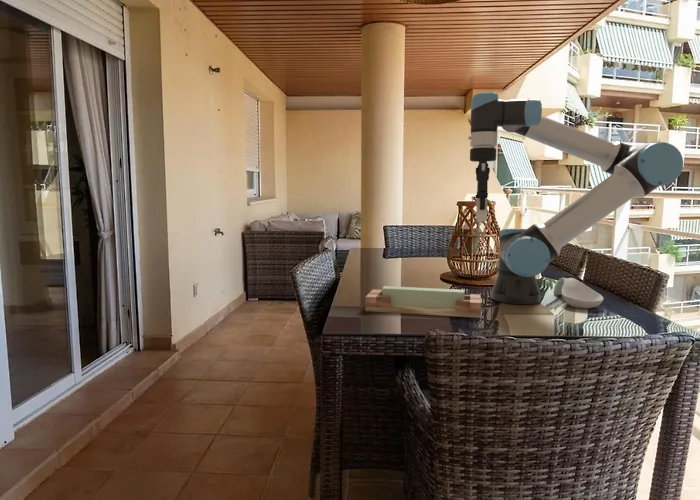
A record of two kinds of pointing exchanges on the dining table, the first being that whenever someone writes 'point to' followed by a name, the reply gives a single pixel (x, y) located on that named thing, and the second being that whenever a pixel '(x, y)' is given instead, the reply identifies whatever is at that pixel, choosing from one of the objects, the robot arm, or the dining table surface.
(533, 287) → the robot arm
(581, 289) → the spoon rest
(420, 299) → the slat
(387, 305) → the slat cradle
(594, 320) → the dining table surface
